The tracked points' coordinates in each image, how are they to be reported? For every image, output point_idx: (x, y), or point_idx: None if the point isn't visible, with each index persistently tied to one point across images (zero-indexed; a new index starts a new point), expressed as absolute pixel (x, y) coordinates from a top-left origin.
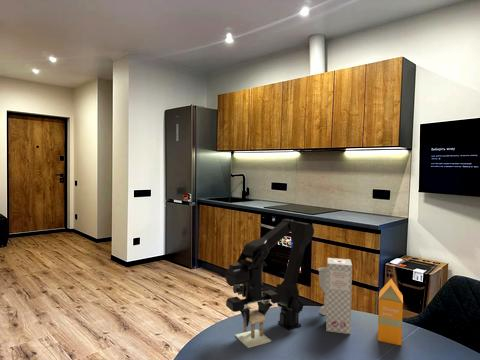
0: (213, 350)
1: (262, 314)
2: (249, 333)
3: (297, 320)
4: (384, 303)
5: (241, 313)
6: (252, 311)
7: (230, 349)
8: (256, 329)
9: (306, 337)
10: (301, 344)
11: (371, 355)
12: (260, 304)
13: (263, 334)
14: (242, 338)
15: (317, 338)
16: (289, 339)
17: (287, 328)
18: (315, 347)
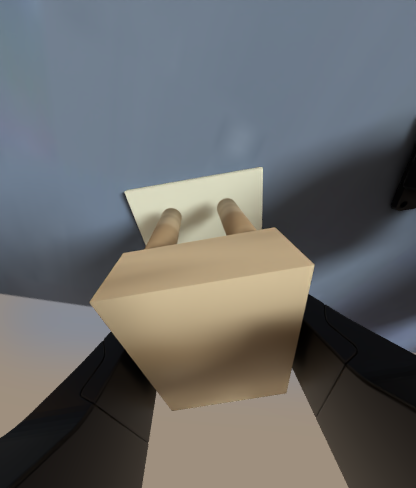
0: (25, 274)
1: (284, 381)
2: (202, 201)
3: None
4: None
5: (72, 381)
6: (230, 337)
7: (97, 281)
8: (257, 168)
9: (383, 274)
10: (331, 301)
11: None
12: (396, 476)
13: (260, 229)
14: None
15: (402, 285)
16: (326, 272)
17: (394, 207)
18: (348, 317)
